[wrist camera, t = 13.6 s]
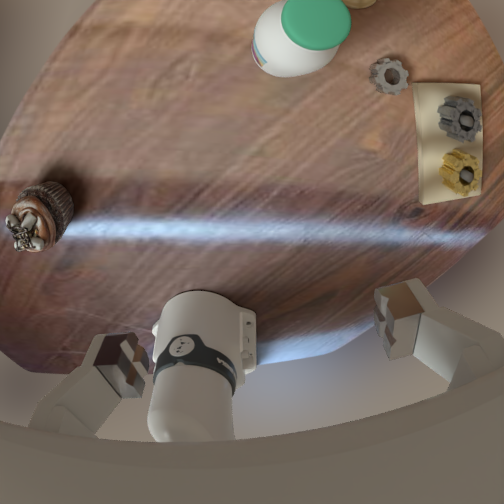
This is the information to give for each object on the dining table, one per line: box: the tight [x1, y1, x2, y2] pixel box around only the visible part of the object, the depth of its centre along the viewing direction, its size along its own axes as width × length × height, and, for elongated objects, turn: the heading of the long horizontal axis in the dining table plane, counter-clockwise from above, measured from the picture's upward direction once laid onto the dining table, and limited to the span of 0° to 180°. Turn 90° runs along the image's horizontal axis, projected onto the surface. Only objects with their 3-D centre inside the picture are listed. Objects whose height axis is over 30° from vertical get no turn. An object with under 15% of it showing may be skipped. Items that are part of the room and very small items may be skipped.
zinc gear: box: [369, 58, 409, 95], centre depth 33 cm, size 5×5×2 cm
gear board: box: [412, 82, 483, 205], centre depth 36 cm, size 18×12×6 cm, turn 12°
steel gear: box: [437, 96, 482, 143], centre depth 33 cm, size 6×6×3 cm
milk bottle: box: [252, 0, 351, 77], centre depth 24 cm, size 8×8×20 cm
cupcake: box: [6, 181, 74, 253], centre depth 38 cm, size 10×10×10 cm
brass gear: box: [439, 149, 482, 197], centre depth 37 cm, size 6×6×3 cm
